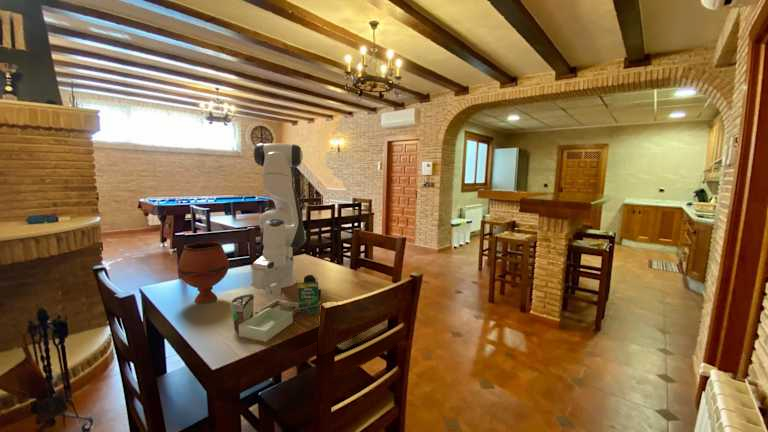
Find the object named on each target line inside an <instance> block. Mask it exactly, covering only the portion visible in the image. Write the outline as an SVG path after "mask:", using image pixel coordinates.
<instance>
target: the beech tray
mask: <svg viewBox="0 0 768 432" xmlns="http://www.w3.org/2000/svg"><path fill="white" fill-rule="evenodd" d="M283 303H292V311H290V312H293V315H295V314H297V313H299V307H298V302H294V301H287V300H282V299H275V300H273V301H272V302H270V303H268V304H266V305H265V306H262V307H261V308H259V309H257V310H255V311H254V314H255V315H257V314H259V313H260V312H262V311H264V310H266V309H267V308H273V307H274V306H276V305H280V306H281V305H282V304H283ZM293 307H294V309H293ZM255 315H254V316H255Z"/></svg>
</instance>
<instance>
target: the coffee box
mask: <svg viewBox="0 0 768 432" xmlns="http://www.w3.org/2000/svg"><path fill="white" fill-rule="evenodd" d="M318 286H319V281H318V282H304V281H301V282H300V281H299V282H298V283H297V298H298V299H297V301H298V302H297V303H298V307H299V311H298V316H308V315H309V316H310V315H311V316H317V315H319V308H320V307H319V305H320V304H319V301H318Z"/></svg>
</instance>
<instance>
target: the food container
mask: <svg viewBox="0 0 768 432" xmlns="http://www.w3.org/2000/svg"><path fill="white" fill-rule="evenodd" d="M254 299H255V296H254V293H248V294H243V295H238V296H236V297H234V298H233V299H232V300H231V302H230V306H229V309H230V310H231V311H232V318H233V320H232V321H233V328H234V330H235V331H237V332H239V325H240V324H241V323H243V322H245V321H246V320H248V319H250V318H252V317H253V316H254Z"/></svg>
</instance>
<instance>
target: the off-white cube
mask: <svg viewBox="0 0 768 432" xmlns="http://www.w3.org/2000/svg"><path fill="white" fill-rule="evenodd" d="M270 290H272V294H270V295H267V294H266V293H265V294H266V296H265V298H266V299H271V300H273V301H275V300H278V298H280V297H281V296H282V295H281V293H282V288H281V285H279V284H275V283H273V284H271V287H270Z"/></svg>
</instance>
